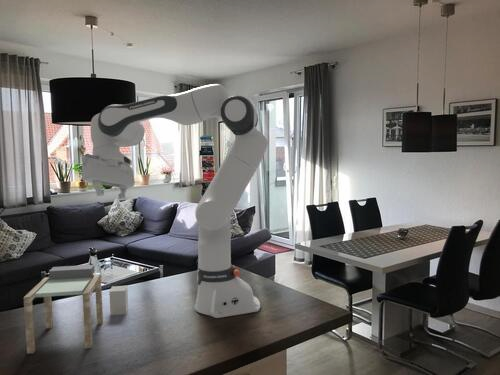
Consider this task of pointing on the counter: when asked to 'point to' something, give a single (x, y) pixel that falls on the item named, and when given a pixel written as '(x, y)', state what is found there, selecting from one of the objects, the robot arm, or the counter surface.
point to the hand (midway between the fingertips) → (111, 197)
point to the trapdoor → (67, 281)
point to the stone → (118, 300)
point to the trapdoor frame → (49, 317)
